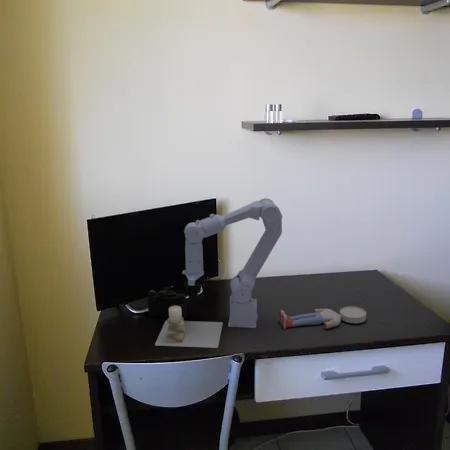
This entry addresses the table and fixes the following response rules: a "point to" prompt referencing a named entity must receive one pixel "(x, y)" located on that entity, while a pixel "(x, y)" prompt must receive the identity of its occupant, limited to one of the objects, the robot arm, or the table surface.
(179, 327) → the slab top
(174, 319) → the cylinder
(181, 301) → the camera
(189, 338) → the mat
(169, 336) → the slab bottom
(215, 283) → the table surface
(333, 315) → the toy
